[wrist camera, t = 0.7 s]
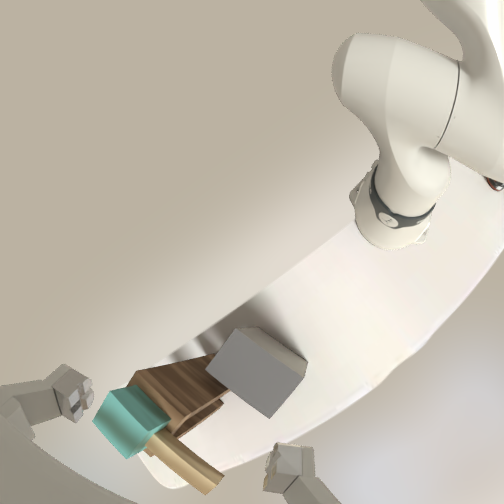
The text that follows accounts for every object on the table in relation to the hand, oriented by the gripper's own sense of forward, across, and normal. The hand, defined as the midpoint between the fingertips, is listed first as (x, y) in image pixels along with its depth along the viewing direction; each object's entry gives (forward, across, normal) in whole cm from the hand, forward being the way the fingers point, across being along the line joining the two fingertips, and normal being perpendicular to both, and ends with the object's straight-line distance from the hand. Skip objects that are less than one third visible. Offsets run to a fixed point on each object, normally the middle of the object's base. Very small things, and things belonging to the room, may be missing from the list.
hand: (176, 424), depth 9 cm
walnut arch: (+36, +1, +29) cm, 47 cm away
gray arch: (+38, -8, +21) cm, 44 cm away
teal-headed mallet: (+12, +3, +20) cm, 23 cm away
